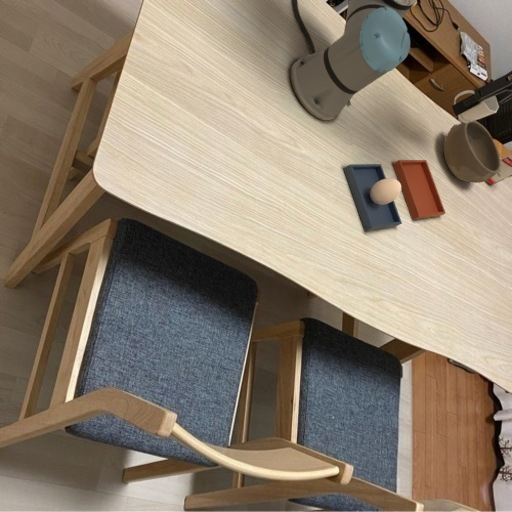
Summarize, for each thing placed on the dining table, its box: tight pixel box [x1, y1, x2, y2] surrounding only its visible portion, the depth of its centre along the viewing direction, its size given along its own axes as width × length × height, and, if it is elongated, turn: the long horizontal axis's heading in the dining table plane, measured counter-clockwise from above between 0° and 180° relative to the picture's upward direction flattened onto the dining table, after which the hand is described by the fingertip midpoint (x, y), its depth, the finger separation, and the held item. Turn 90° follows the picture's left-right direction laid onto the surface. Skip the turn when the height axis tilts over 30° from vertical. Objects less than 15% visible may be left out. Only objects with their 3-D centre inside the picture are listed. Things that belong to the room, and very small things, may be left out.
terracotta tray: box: [392, 159, 447, 221], centre depth 147 cm, size 15×13×2 cm
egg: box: [370, 178, 402, 205], centre depth 129 cm, size 6×6×8 cm
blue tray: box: [343, 163, 403, 232], centre depth 132 cm, size 15×12×2 cm
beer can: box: [485, 153, 512, 185], centre depth 172 cm, size 6×6×16 cm
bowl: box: [442, 120, 501, 184], centre depth 163 cm, size 17×18×10 cm
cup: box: [453, 89, 500, 123], centre depth 143 cm, size 7×10×8 cm
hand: (462, 111), depth 146 cm, fingers closed on cup, 8 cm apart
